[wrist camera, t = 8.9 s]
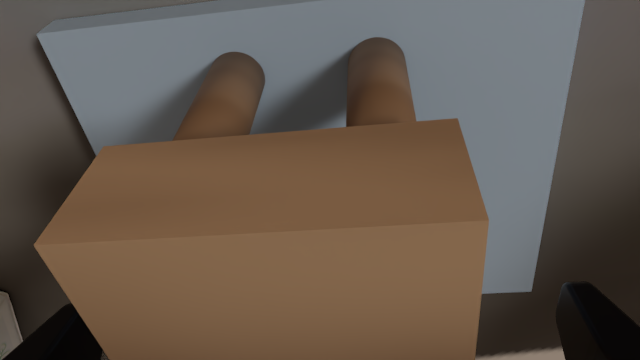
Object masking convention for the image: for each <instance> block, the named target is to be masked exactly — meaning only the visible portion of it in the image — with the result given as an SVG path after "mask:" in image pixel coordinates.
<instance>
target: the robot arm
mask: <svg viewBox="0 0 640 360" xmlns="http://www.w3.org/2000/svg"><path fill="white" fill-rule="evenodd" d="M556 322H557V327H558V331H559V335H560V339H561V343H562V347H563V351H564V355H565V359H566V360H640V327H639V326H638V325H637V324H636V323H635V322H634V321H633V320H632V319H630V318H629V317H628V316H627V315H626V314H625V313H624V312H623V311H621V310H620V309H619V308H618V307H617V306H616V305H615V304H614V303H613V302H611V301H610V300H609V299H608V298H607V297H606V296H605V295H604V294H602V293H601V292H600V291H599V290H598V289H597V288H596V287H595V286H593V285H592V284H591V283H589V282H584V281H583V282H566V283H564V284H563V286H562V288H561V292H560V296H559V301H558V305H557V309H556ZM102 351H103V349H102V348H101V346H100V345H99V343H98V342H97V340H96V339H95V337H94V336H93V334H92V333H91V331H90V330H89V328H88V327H87V325H86V324H85V322H84V321H83V319H82V318H81V316H80V315H79V313H78V312H77V310H76V309H75V307H74V306H73V304H72V303H70V304H67V305H65V306H64V307H62V308H61V309H60V310H59V311H58V312H56V313H55V314H54V315H53V316H52V317H51V318H49V319H48V320H47V321H46V322H45V323H44V324H42V325H41V326H40V327H39V328H38V329H37V330H36V331H34V332H33V333H32V334H31V335H30V336H29V337H27V338H26V339H25V340H24V341H23V342H22V343H20V344H19V345H18V346H17V347H16V348H15V349H14V350H12V351H11V352H10V353H9V354H8V355H7V356H5V357H4V358H3V359H2V360H101V356H102Z"/></svg>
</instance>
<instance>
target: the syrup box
mask: <svg viewBox="0 0 640 360" xmlns="http://www.w3.org/2000/svg"><path fill="white" fill-rule="evenodd" d="M22 342H23V340H22V336H21V334H20V330H19V327H18V323H17V320H16V317H15V314H14V311H13V307H12V304H11V302H10V299H9V295H8V293H5V292H2V291H0V360H2V359H3V358H4V357H5V356H7V355H8V354H9V353H10V352H11V351H12V350H14V349H15V348H16V347H17V346H18V345H19V344H20V343H22Z"/></svg>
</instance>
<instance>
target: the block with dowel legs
mask: <svg viewBox="0 0 640 360" xmlns="http://www.w3.org/2000/svg"><path fill="white" fill-rule="evenodd" d="M264 86H265V75H264V71H263V69H262V67H261V66H260V64H259V63H258V62H257V61H256V60H255V59H254V58H252V57H251V56H249V55H247V54H244V53H241V52H227V53H224V54H222V55H220V56H219V57H218V58H216V59H215V61H214V62H213V64H212V66H211V68H210V69H209V71H208V73H207V75H206V77H205V79H204V81H203V83H202V85H201V87H200V89H199V90H198V92H197V94H196V96H195V98H194V100H193V102H192V104H191V106H190V108H189V110H188V111H187V113H186V115H185V117H184V119H183V121H182V123H181V125H180V127H179V129H178V131H177V132H176V134H175V136H174V138H173V140H172V141H165V142H152V143H140V144H127V145H114V146H103V148H102V149H101V151H100V152H99V153H98V155H97V156H96V158H95V159H94V160H93V162H92V163H91V165H90V166H89V168H88V169H87V170H86V172H85V173H84V175H83V176H82V177H81V179H80V180H79V182H78V183H77V184H76V186H75V187H74V189H73V190H72V192H71V193H70V194H69V196H68V197H67V199H66V200H65V201H64V203H63V204H62V206H61V207H60V208H59V210H58V211H57V213H56V214H55V216H54V217H53V218H52V220H51V221H50V223H49V224H48V225H47V227H46V228H45V230H44V231H43V232H42V234H41V235H40V237H39V238H38V240H37V241H36V242H35V244H34V247H35V249H36V250H37V252H38V253H39V255H40V256H41V258H42V259H43V261H44V262H45V264H46V265H47V267H48V268H49V270H50V271H51V273H52V274H53V276H54V277H55V279H56V280H57V282H58V283H59V285H60V286H61V288H62V289H63V291H64V292H65V294H66V295H67V297H68V298H69V300H70V301H71V303H72V304H73V306H74V307H75V309H76V310H77V312H78V313H79V315H80V316H81V318H82V319H83V321H84V322H85V324H86V325H87V327H88V328H89V330H90V331H91V333H92V334H93V336H94V337H95V339H96V340H97V342H98V343H99V345H100V346H101V348H102V349H103V351H104V352H105V354H106V355H107V357H108V358H109V360H475V354H476V344H477V334H478V324H479V315H480V305H481V295H482V285H483V275H484V266H485V256H486V246H487V236H488V226H489V218H488V215H487V212H486V209H485V205H484V202H483V199H482V196H481V192H480V189H479V186H478V183H477V179H476V176H475V173H474V170H473V167H472V163H471V160H470V157H469V154H468V150H467V147H466V144H465V141H464V137H463V134H462V131H461V128H460V124H459V121H458V118H453V119H441V120H428V121H416V115H415V110H414V104H413V99H412V93H411V88H410V82H409V77H408V72H407V66H406V61H405V56H404V53H403V51H402V49H401V48H400V47H399V46H398V45H397V44H396V43H395V42H393V41H392V40H390V39H387V38H383V37H373V38H369V39H366V40H364V41H362V42H360V43H359V44H358V45H357V46H356V47H355V48H354V49H353V50H352V52H351V54H350V56H349V60H348V77H347V110H346V127H340V128H328V129H315V130H303V131H290V132H278V133H265V134H252V135H249V134H250V131H251V128H252V125H253V121H254V118H255V115H256V112H257V108H258V105H259V102H260V99H261V95H262V92H263V89H264Z"/></svg>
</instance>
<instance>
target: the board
mask: <svg viewBox="0 0 640 360" xmlns="http://www.w3.org/2000/svg"><path fill="white" fill-rule="evenodd" d="M584 2H585V0H218V1H209V2H201V3H193V4H184V5H176V6H168V7H160V8H151V9H143V10H135V11H126V12H118V13H110V14H102V15H93V16H85V17H77V18H68V19H60V20H54V21H53V22H51V23H50V24H49V25H47V26H46V27H45V28H43V29H42V30H41V31H39V32H38V33H37V34H36V35H37V37H38V39H39V41H40V43H41V45H42V47H43V49H44V51H45V53H46V55H47V57H48V59H49V61H50V63H51V65H52V67H53V69H54V71H55V73H56V75H57V77H58V79H59V81H60V83H61V85H62V87H63V90H64V92H65V94H66V96H67V98H68V100H69V102H70V104H71V106H72V108H73V110H74V112H75V114H76V116H77V118H78V120H79V122H80V124H81V126H82V128H83V130H84V132H85V134H86V136H87V138H88V140H89V142H90V144H91V146H92V148H93V150H94V152H95V154H96V156H97V155H98V153H99V152H100V151H101V149H102V148H103V146H114V145H127V144H140V143H152V142H165V141H172V140H173V138H174V136H175V134H176V132H177V131H178V129H179V127H180V125H181V123H182V121H183V119H184V117H185V115H186V113H187V111H188V110H189V108H190V106H191V104H192V102H193V100H194V98H195V96H196V94H197V92H198V90H199V89H200V87H201V85H202V83H203V81H204V79H205V77H206V75H207V73H208V71H209V69H210V68H211V66H212V64H213V62H214V61H215V59H216V58H218V57H219V56H220V55H222V54H224V53H227V52H241V53H244V54H247V55H249V56H251V57H252V58H254V59H255V60H256V61H257V62H258V63H259V64H260V66H261V67H262V69H263V71H264V75H265V86H264V89H263V92H262V95H261V99H260V102H259V105H258V108H257V112H256V115H255V118H254V121H253V125H252V128H251V131H250V134H249V135H252V134H265V133H278V132H290V131H303V130H315V129H328V128H340V127H346V110H347V77H348V60H349V56H350V54H351V52H352V50H353V49H354V48H355V47H356V46H357V45H358V44H359V43H360V42H362V41H364V40H366V39H369V38H373V37H383V38H387V39H390V40H392V41H393V42H395V43H396V44H397V45H398V46H399V47H400V48H401V49H402V51H403V53H404V56H405V61H406V66H407V72H408V77H409V82H410V88H411V93H412V99H413V104H414V110H415V115H416V121H428V120H441V119H453V118H458V121H459V124H460V128H461V131H462V134H463V137H464V141H465V144H466V147H467V150H468V154H469V157H470V160H471V163H472V167H473V170H474V173H475V176H476V179H477V183H478V186H479V189H480V192H481V196H482V199H483V202H484V205H485V209H486V212H487V215H488V218H489V226H488V236H487V246H486V256H485V266H484V275H483V285H482V294H487V293H511V292H531V291H532V285H533V280H534V274H535V269H536V264H537V258H538V253H539V247H540V242H541V236H542V231H543V226H544V220H545V215H546V209H547V204H548V198H549V193H550V187H551V182H552V177H553V171H554V166H555V160H556V155H557V149H558V144H559V138H560V133H561V128H562V122H563V117H564V111H565V106H566V100H567V95H568V90H569V84H570V79H571V73H572V68H573V62H574V57H575V51H576V46H577V41H578V35H579V30H580V24H581V19H582V13H583V8H584Z"/></svg>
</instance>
